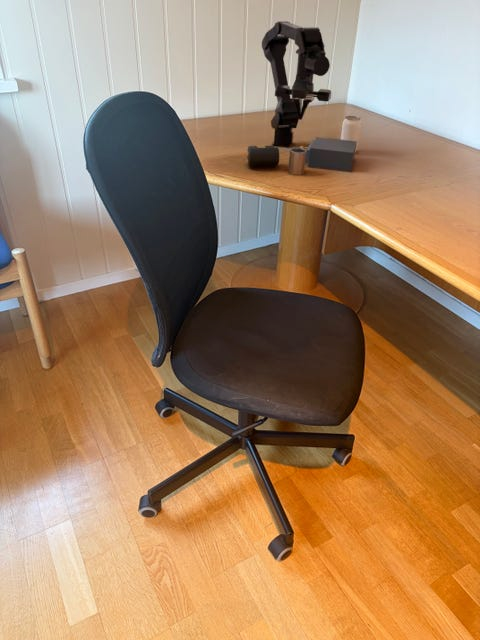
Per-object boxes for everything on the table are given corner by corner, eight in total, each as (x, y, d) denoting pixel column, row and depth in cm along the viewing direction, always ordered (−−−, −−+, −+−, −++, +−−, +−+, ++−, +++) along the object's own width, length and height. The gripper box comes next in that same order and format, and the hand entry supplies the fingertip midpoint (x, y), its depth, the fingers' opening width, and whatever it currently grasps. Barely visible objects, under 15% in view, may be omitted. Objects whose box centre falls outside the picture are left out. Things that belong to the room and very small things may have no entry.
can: (356, 154, 181) (361, 120, 174) (338, 153, 182) (343, 119, 175) (356, 149, 186) (361, 116, 179) (339, 148, 187) (344, 115, 180)
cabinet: (308, 166, 169) (310, 147, 165) (314, 155, 179) (316, 137, 176) (350, 171, 166) (353, 152, 162) (353, 159, 176) (356, 141, 173)
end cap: (249, 171, 163) (250, 150, 159) (245, 164, 169) (246, 144, 165) (278, 170, 165) (280, 150, 161) (274, 163, 170) (275, 143, 166)
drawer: (294, 162, 170) (295, 148, 167) (301, 151, 179) (302, 138, 177) (344, 168, 166) (346, 154, 163) (348, 157, 176) (350, 143, 173)
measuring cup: (278, 172, 163) (279, 150, 158) (281, 168, 167) (283, 146, 163) (302, 175, 161) (304, 153, 157) (305, 170, 165) (307, 148, 161)
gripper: (272, 72, 160) (269, 122, 169) (328, 77, 156) (322, 128, 165) (280, 66, 169) (277, 114, 178) (334, 71, 164) (328, 120, 174)
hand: (300, 119), depth 173 cm, fingers closed
